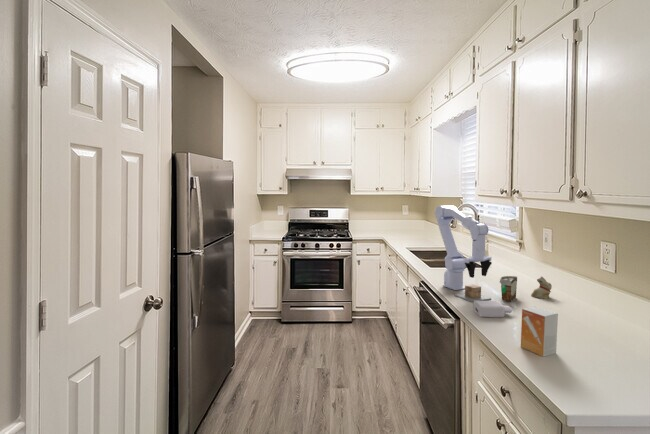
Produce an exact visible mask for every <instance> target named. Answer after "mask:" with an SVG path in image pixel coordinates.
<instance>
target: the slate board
mask: <svg viewBox="0 0 650 434" xmlns="http://www.w3.org/2000/svg"><path fill="white" fill-rule="evenodd" d="M454 297H457V298H460V299H463V300H465V301H468V302H471V303H474V301H492V298H491V297H488V296H485V295H482V294H481V297H479V298H470V297H467V296H465V292H462V293H455V294H454Z"/></svg>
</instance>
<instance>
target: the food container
mask: <svg viewBox="0 0 650 434" xmlns="http://www.w3.org/2000/svg"><path fill="white" fill-rule="evenodd" d="M499 284H500V285H501V286H500V288H501V289H500V290H501V300H502V301H504V302H506V303H513V302H514V301H515V299H516V298H517V286H518V285H517V284H518V276H514V275H512V276H511V275H507V276H506V275H504V276H501V277H500V278H499Z"/></svg>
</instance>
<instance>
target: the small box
mask: <svg viewBox="0 0 650 434" xmlns="http://www.w3.org/2000/svg"><path fill="white" fill-rule="evenodd" d="M558 316H559V314H558V312H554V311H551V310H548V309H544V308H541V307H538V306H536V305H535V306H530V307H525V308H522V310H521V331H520V348H523V349H525V350H527V351H529V352H532V353H534V354H536V355H539V356H541V357H542V358H544V357H548V356H552V355H555V354H557V346H558V345H557V342H558V321H559V320H558V318H559V317H558Z"/></svg>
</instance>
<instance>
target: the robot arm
mask: <svg viewBox="0 0 650 434" xmlns="http://www.w3.org/2000/svg"><path fill="white" fill-rule="evenodd" d="M434 215H435V220H436V222H437V226H438V229H439V232H440V235H441V239H442V241H443V245H444V247H445V251H446V256H445V257H444V258H443V259H444V262H445V263H444V265H445V268H446V270H445V271H444V275H443V285H442V287H445V288H447V289H450V290H454V291H457V290H465V286H464V272H465V269H467V271H468V276H469V278H475V271H476V267H477V264H475V263H480V267H481V276H483V277H486V276H487V274H488V271H489V269H490V266H492V262H493V261H492V256H489V255H488V256H486V235H488V233H489V227H488V225H487V224H486V223H483V222H482V223H481V222H480V221H479V220H476V219H474V218H473V216H472V215H467V216H466V215H465V214H464V213H463V212H461V211H460V210H459V209H458V207H457V206H455V205H454V204H453V205H438V206H436V207H435V210H434ZM453 219H456V220H457V221H459V222H461V225H462V226H463V227H464V228H465V229H467V230H469V233H470V236H471V240H472V245H471V246H472V249H471V250H472V251H471V257H467V258H465V257H464V255H463V254H462V253H461V252H460V251H458V248H457V245H456V242H455V238H454V236H453V234H452V230H451V226H450V223H451V222H452V221H453Z"/></svg>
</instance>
